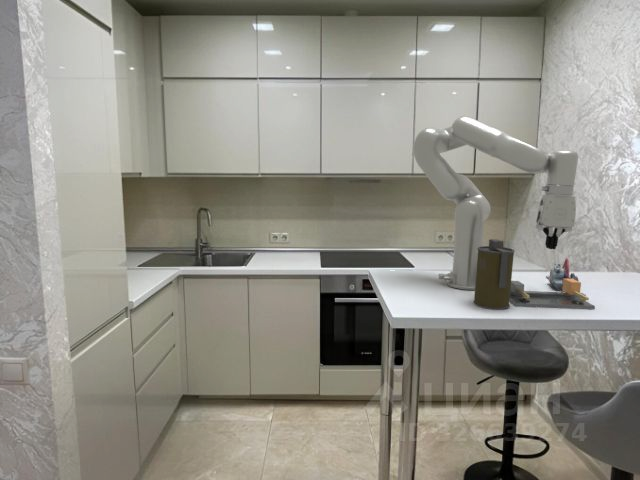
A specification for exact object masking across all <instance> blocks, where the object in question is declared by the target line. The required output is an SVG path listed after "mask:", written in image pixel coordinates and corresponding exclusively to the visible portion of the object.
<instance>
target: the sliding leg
mask: <svg viewBox="0 0 640 480" xmlns="http://www.w3.org/2000/svg"><path fill="white" fill-rule="evenodd" d="M581 287H582V282H581V281H577V280H574V279H563V287H562V291H561V292H566V293H568V294H570V295H577V296H579V297H581V300H580V302H584V299H585V301H589V299H590V298H589V296H587V295H586V294H585V295H586V296H585V295H583V294H584V293H583V294H581V293H582V292H581V289H582V288H581Z"/></svg>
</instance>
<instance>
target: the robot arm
mask: <svg viewBox="0 0 640 480" xmlns="http://www.w3.org/2000/svg"><path fill="white" fill-rule="evenodd" d="M464 146H468V147H472V148H473V149H475V150H477V151H480V152H482V153H484V154H485V155H488V156H490V157H492V158H496V159H498V160H500V161H502V162H504V163H507V164H509V165H512V166H513V167H515V168H518V169H519V170H521V171H524V172H525V173H528V174H547V178H546V184H545V186H541V191H543V192H544V193H545V194H542V197H541V199H540V202H539V205H538V209H537V214H536V225H535V229H536V230H540V231H542V232H543V233H544V234H545V236H546V237H545V248H546V249H549V250H556V249H557V247H558V243H559V238H560V237H561V235H563V234H565V233H567V232H571V231H572V230H573V228H574V227H575V223H576V214H577V213H576V211H577V208H576V207H577V205H576V204H577V201H576V196H573V193H574V189H575V181H576V180H575V179H576V173H577V168H578V162H579V153H578V152H576V151H575V150H574V151H573V150H555V151H546V150H543V149H540V148H538V147H535V146H533V145H531V144H529V143H526V142H524V141H521V140H519V139H517V138H514V137H513V136H511V135H510V134H507V132H505V131H503V130H501V129H498V128H496V127H493V126H491V125H489V124H487V123H485V122H482V121H480V120H477V119H475V118H473V117H470V116H466V115H463V116H459V117H458V118H456V119H455V120H454V121H453V123H452V125H451V126H448V127H445V128H443V129H440V128H436V127H427V128H424V129H422V130H421V131H419V132H418V134H417V135H416V137H415V139H414V142H413V157H414V159H415V161H416V163H417V165H418V167H419V168H420V169H421V171H422V172H423V173H424V175H426V177H427V179H428V180H429V181H430V183H431V184H432V185H433V186H434V187H435V188H436V190H437V191H438V193H439V194H440V195H441V197H443V198H444V199H445V200H447V201H453V202H454V204H456V207H455V209H454V243H453V256H452V257H453V259H452V270H451V271H450V272H449V273H439V274H438V280H444V281H446V283H447V286H449V287H450V288H454V289H459V290H466V291H475V283H476V271H477V259H478V249H477V248H478V247H481V246H484V245H483V244H484V221H486V220H487V219H488V218H489V217H490V214H491V209H492V208H491V204H490V202H489V201H488V200H487V198H486V197H485V196H484V194H483V193H482V192H481V191H480V190H479V189H478V187H477V186H476V185H475V184H474V182H472V181H471V179H470V178H469V177H468V176H466V175H464V174H461V173H457V172H456V171H455V170H454V168H452V166H450V164H449V163H448V161H447V160H446V159H445V158H444V157H443V156H442V155H441V154H442V153H443V154H444V153H447V152H449V151H452V150H455V149H458V148H462V147H464Z"/></svg>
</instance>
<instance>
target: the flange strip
mask: <svg viewBox="0 0 640 480" xmlns="http://www.w3.org/2000/svg"><path fill="white" fill-rule="evenodd" d="M509 303H511V304H513V306H516V307H518V308H519V307H521V308H522V307H523V308H545V309H546V308H550V309H551V308H552V309H572V310H573V309H578V310H581V309H582V310H595V309H596V306H595V305H594V304H592V303H590V302H588V301H587V300H585V301H584V302H580V300H562V299H534V298H526V300H523V298H510V300H509Z"/></svg>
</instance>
